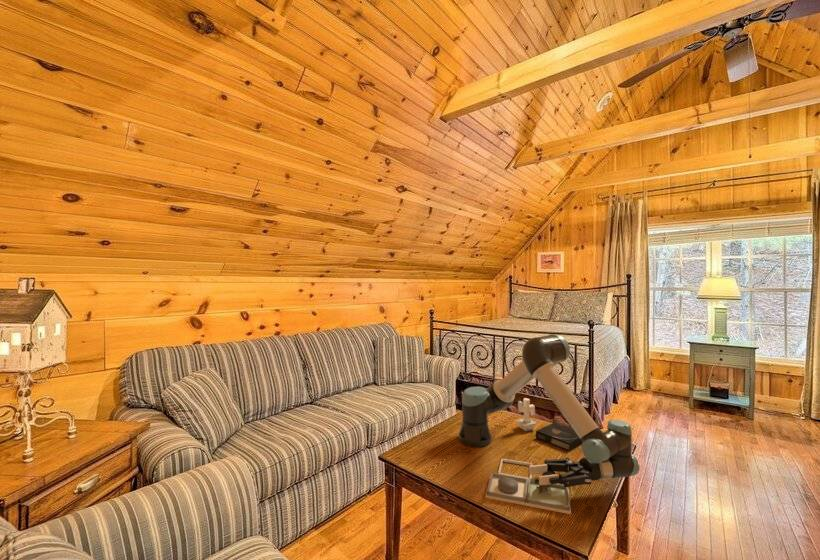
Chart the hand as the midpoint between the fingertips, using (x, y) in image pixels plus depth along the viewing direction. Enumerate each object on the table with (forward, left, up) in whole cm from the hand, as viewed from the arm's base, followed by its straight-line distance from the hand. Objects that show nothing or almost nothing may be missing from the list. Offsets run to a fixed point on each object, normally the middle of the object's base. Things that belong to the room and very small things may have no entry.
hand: (534, 475), depth 131 cm
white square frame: (-8, +18, -9) cm, 21 cm away
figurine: (-6, +60, -9) cm, 61 cm away
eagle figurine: (+3, +4, -7) cm, 9 cm away
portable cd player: (+10, +53, -9) cm, 55 cm away
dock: (-2, +3, -9) cm, 10 cm away
